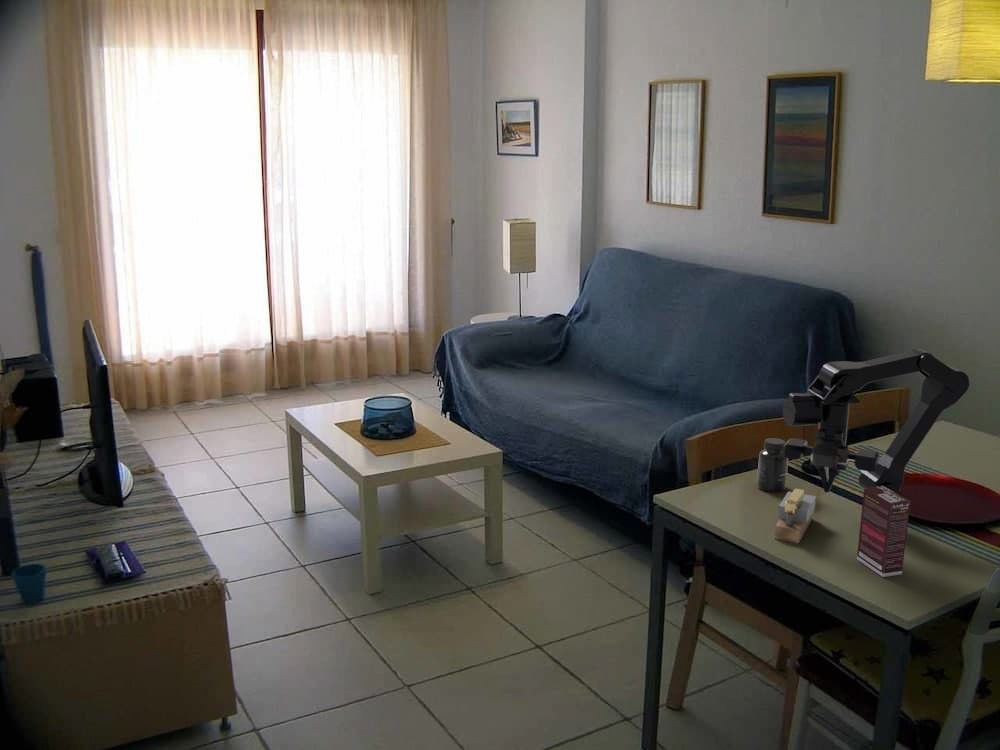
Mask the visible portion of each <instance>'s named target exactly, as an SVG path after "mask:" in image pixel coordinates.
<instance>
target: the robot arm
mask: <svg viewBox="0 0 1000 750" xmlns="http://www.w3.org/2000/svg"><path fill="white" fill-rule="evenodd" d="M916 372H918V373H919V374H921V375H922V376H924V380H923V383H922V384H921V385H922V386H921V394H920V395H921V397H920V400H919V401H918V403H917V405H916V406H915V407H914V409H913V411H912V412H911V413H910V415H909V416H908V418H907V419H906V421H905V423H904V424H903V425H902V427H901V428H900V430H899V431H898V433H897V434H896V436H895V438H893V441H892V442H891V443H890V445H889V447H888V448H887V450H886V451H885V452H884V454H883V455H881V456H880V454H879V452H878V451H877V450H873V449H872V450H871V449H864V448H859V449H858V451H857V453H856V452H850V450H849V445H847V438H848V436H847V435H848V425H849V417H850V416H849V414H850V404H853V405H854V404H860V403H861V400H860V399H859V397H857V396H856V395H855V392H858V391H860V390H862V389H863V388H864V387H865V386H866V385H868V384H870V383H874V382H879V381H881V380H882V381H883V380H887V379H891V378H895V377H899V376H904V375H908V374H913V373H916ZM970 385H971V383H970V379H969V376H968V375H967V374H966V372H964V371H961V370H959V369H957V368H955V367H953V366H950V365H948V364H945V363H944V362H941V361H940V360H939V359H937V358H936V357H935V356H934V355H933V354H932V353H931V352H929V351H926V350H923V349H921V348H912V349H910V350H908V351H904V352H899V353H894V354H890V355H886V356H882V357H877V358H873V359H869V360H865V361H864V360H863V361H846V360H844V361H840V360H839V361H829V362H826V363H824V364H823V365H822V367H821V369H819V372H818V375H817V376H816V377H815V378H814V380H813V381H812V382H811V384H810V385H809V386H808V387H807V388H806V393H797V392H791V393H789V394H788V398H787V399H786V400H785V402H784V404H783V405H782V416H783V417H782V418H783V421H784V423H785V425H787V426H788V427H800V426H813V425H814V426H816V425H817V424H818V430H817V436H816V438H815V441H814V446H811V445H808V441H807V440H806V439H799V438H793V437H791V438H789V439H788V440H786V442H785V445H784V448H783V457H785V458H788V459H790V460H791V459H792V460H798V459H800V458H801V457H802V455H806V456H810V462H809V464H810V466H813V467H815V468H816V469H817V471H818V474H819V478H820V480H821V484H822V487H823V491H824V492H825V493H830V492H831V491H830V490H831V488H832V486H833V484H834V482H835V480H836V477H837V476H838V474H839V473H840V471H846V470H847V468H848V466H849V465H850V463H854V467H856V468H857V470H859V473H860V475H859V476H858V483H859V487H860V488H861V489H862V491H864V488H866V487H873V486H885V487H887V488H888V489H890V490H892V491H894V492H896V493H897V494H899V495H901V496H903V497H905V498H906V499H908V498H907V497H906V496H905V495H904V494H903V493H902V492H901V491H900V490H901V488H902V486H903V484H904V482H905V481H904V480H905V471H906V470H905V469H906V466H907V465H908V464H909V462H910V461H911V459H912V458H913V456H914V454H915V453H916V452H917V450H918V448H919V447H920V446H921V444H922V443H923V441H924V439H925V438H926V437H927V435H928V434H929V432H930V431H931V429H932V428H933V426H934V425H935V423H936V421H937V420H938V419H939V417H940V415H941V414H942V413H943V412H944V411H945V410H947V409H948V408H950V407H952V406H954V405H955V404H957V403H958V402H959V401H960V399H962V397H964V395H965V394H966V393H967V392H968V390H969V388H970V387H971V386H970ZM824 388H825V389H827V390H828V392H827V391H826V390H824ZM829 469H830V472H829Z"/></svg>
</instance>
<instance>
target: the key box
mask: <svg viewBox="0 0 1000 750" xmlns="http://www.w3.org/2000/svg"><path fill="white" fill-rule="evenodd" d="M813 515H814V514H813V513H812V515H811V516H810V518H809V520H808V522H807V523H806V524H803V523H798V522H793V517H794V513H787V518H786V520H783V519H778V521H777V523H776V524H775V532H774V539H775V538H776V539H775V540H779V539H781V540H780V541H784V540H786V541H785V542H788V541H792V542H791V543H793V542H796V543H795V544H798V543H799V544H800V543H801V542H800V541H801V540H802V538H803V536H804V534H805V533H806V531H807V529H808V528H809V526H810V524H811V522H812V520H813Z"/></svg>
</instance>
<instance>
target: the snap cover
mask: <svg viewBox="0 0 1000 750" xmlns="http://www.w3.org/2000/svg"><path fill="white" fill-rule="evenodd" d="M792 492H793V491H787V493H786V494H785V496H784V497H783V499H782V500H781V502H780V503H779V505H778V512H777V519H778V520H780V519H783V520H786V518H787V512H785V501H786V500H788V498H789V497H790V495H791V494H792ZM816 497H817V496H816V495H809V494H805V493H804V498H803V500H802V502H801V503H800V505H799V507H798V508H797V511H796V513H794V517H793V522H798V523H803V524H806V523H807V522H808V520H809V518H810V516H811V515H812V513H813V512H814V511H815V508H816V500H817V499H816Z"/></svg>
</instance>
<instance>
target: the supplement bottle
mask: <svg viewBox="0 0 1000 750" xmlns="http://www.w3.org/2000/svg"><path fill="white" fill-rule="evenodd" d="M763 443H764V444H763V448H764V449H762V450H760V452H759V455H758V466H757V478H756V486H757V488H758V489H760V490H761V491H764V492H766V493H781V492H783V491H785V490H786V485H787V479H788V478H787V477H788V468H789V467H788V465H789V458H785V457H783V448H784V445H785V444H786V441H785V440H783V439H782V438H775V437H771V438H770V437H769V438H765V440H764V442H763Z"/></svg>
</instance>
